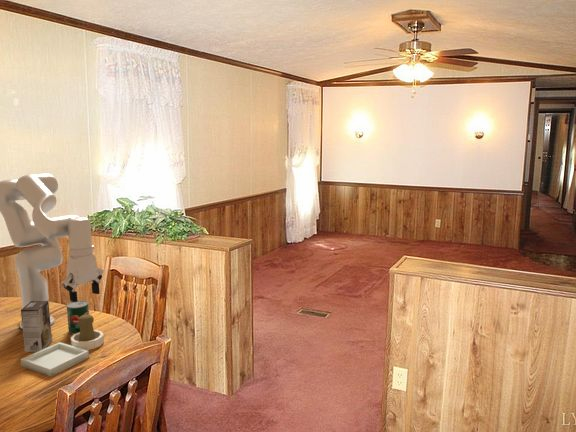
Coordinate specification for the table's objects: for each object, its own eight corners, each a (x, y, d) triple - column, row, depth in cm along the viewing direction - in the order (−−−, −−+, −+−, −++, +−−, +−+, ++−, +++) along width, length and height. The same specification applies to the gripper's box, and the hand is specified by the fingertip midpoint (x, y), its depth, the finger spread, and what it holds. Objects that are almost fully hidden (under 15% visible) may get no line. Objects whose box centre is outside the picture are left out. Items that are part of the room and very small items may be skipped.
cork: (90, 348, 176) (88, 319, 174) (75, 346, 177) (73, 318, 175) (99, 341, 182) (97, 313, 180) (85, 339, 183) (83, 312, 181)
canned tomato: (77, 335, 186) (75, 309, 184) (64, 331, 190) (61, 305, 188) (94, 328, 193) (92, 302, 191) (81, 324, 197) (79, 299, 195)
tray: (21, 366, 162) (20, 359, 162) (60, 348, 175) (59, 342, 175) (50, 376, 155) (50, 369, 155) (89, 357, 168) (88, 350, 168)
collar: (65, 346, 177) (64, 338, 176) (89, 335, 187) (89, 328, 186) (85, 352, 172) (85, 344, 171) (109, 341, 182) (109, 333, 181)
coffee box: (35, 341, 181) (31, 300, 178) (52, 340, 182) (49, 300, 179) (24, 352, 172) (19, 309, 169) (42, 351, 173) (38, 309, 170)
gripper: (93, 246, 182) (97, 289, 185) (53, 256, 167) (57, 303, 170) (107, 247, 179) (111, 292, 182) (67, 258, 164) (72, 306, 167)
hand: (85, 297), depth 176 cm, fingers open, 9 cm apart
